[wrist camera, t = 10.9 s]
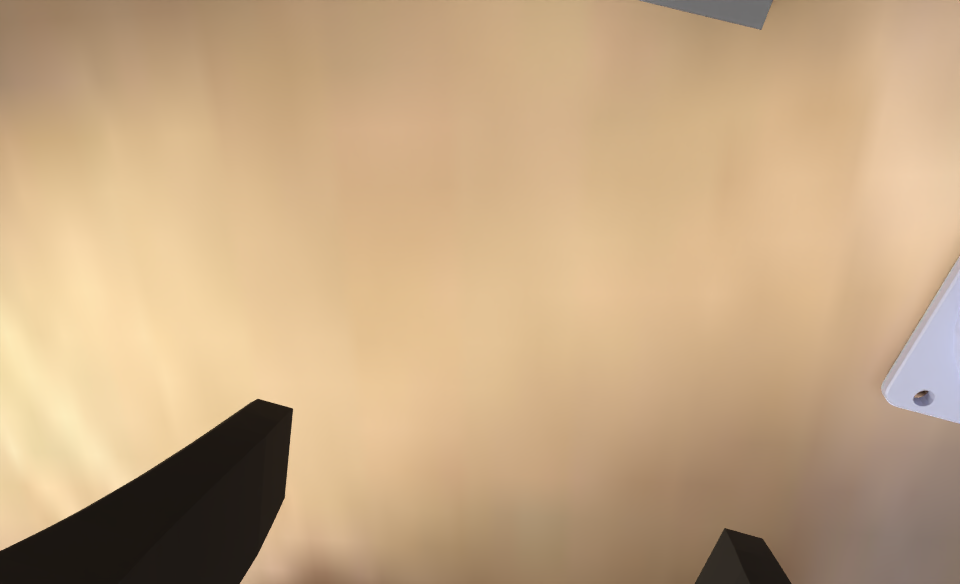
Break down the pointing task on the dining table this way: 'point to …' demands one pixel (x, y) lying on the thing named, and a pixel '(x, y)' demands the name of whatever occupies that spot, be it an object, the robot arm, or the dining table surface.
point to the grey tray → (723, 9)
